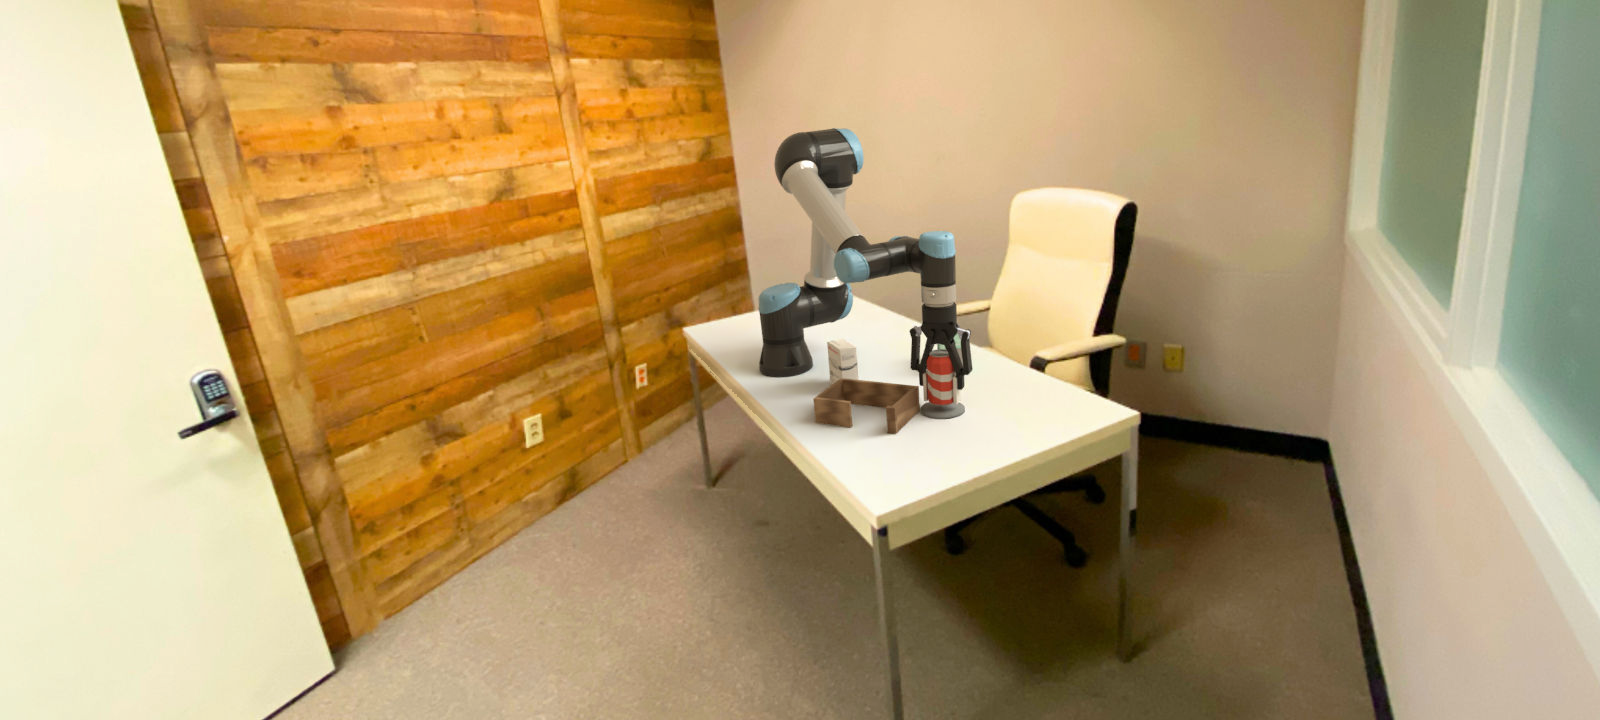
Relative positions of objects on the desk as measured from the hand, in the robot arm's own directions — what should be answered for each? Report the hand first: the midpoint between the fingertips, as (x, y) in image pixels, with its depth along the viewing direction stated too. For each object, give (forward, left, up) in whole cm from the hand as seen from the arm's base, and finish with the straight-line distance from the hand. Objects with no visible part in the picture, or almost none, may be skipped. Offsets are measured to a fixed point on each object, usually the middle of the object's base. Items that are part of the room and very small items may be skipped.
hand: (942, 400), depth 171 cm
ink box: (-29, +7, -3) cm, 30 cm away
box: (-8, +30, -3) cm, 31 cm away
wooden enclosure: (-15, -9, -2) cm, 17 cm away
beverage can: (0, 0, -1) cm, 1 cm away
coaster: (0, 0, -2) cm, 2 cm away
